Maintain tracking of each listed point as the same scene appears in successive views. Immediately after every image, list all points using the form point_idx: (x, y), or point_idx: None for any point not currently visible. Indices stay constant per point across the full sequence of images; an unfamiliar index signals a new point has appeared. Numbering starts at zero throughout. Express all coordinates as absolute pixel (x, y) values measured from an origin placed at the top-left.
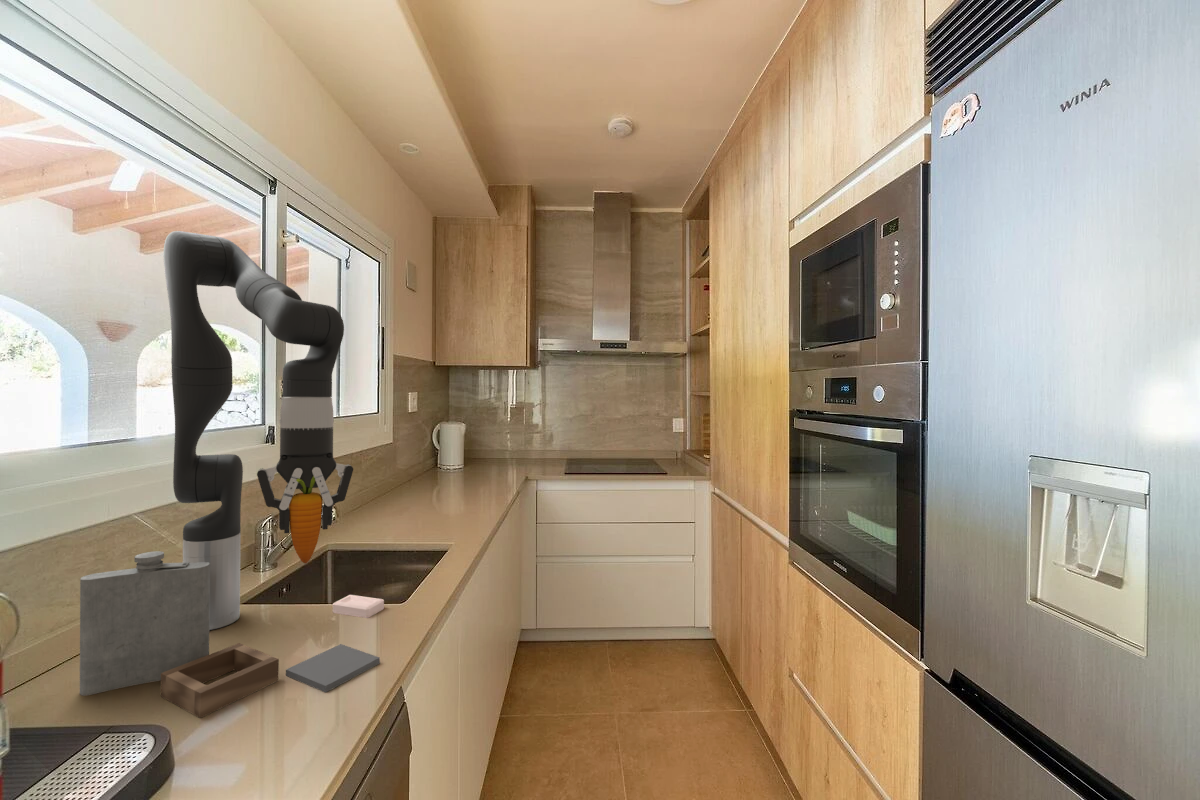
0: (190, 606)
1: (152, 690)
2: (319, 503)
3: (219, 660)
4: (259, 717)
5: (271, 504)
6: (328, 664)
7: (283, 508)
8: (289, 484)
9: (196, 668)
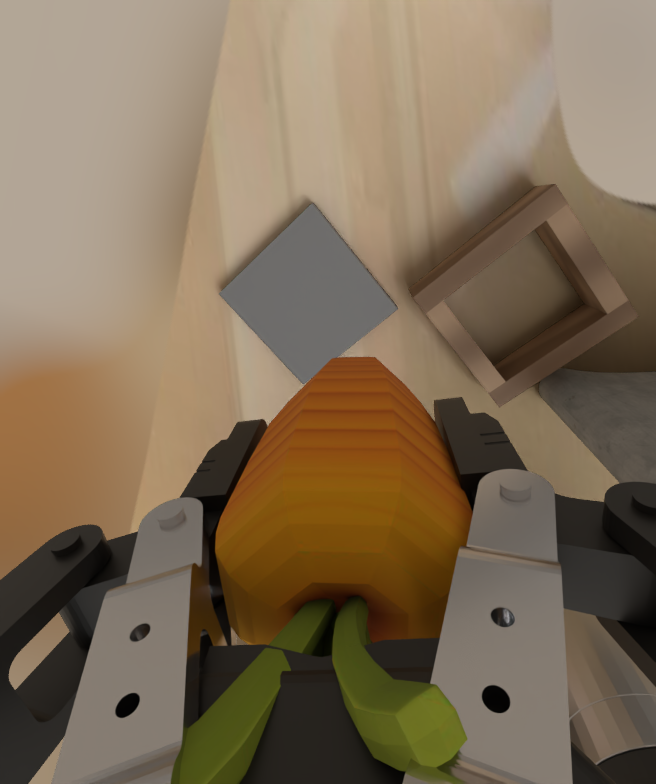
0: (653, 437)
1: (628, 336)
2: (235, 499)
3: (528, 359)
4: (427, 145)
5: (634, 493)
6: (317, 299)
7: (511, 477)
8: (548, 673)
9: (569, 333)
